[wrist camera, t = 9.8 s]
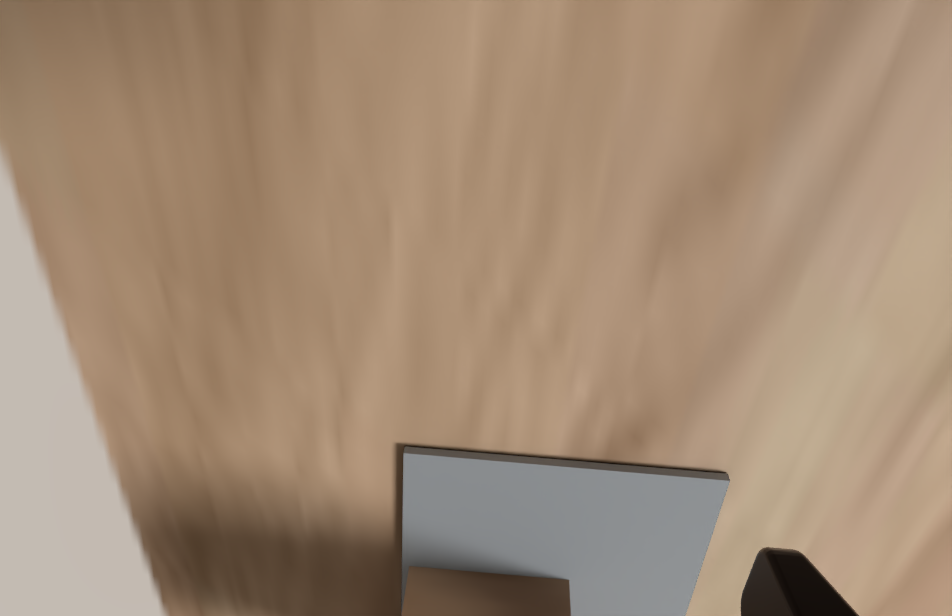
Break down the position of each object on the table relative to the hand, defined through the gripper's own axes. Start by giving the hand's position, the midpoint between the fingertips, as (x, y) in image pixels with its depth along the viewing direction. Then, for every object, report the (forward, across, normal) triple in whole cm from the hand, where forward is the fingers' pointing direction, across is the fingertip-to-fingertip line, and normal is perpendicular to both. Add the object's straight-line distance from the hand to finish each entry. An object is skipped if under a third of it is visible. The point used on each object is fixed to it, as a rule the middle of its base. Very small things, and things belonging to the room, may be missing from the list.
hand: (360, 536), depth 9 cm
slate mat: (+12, -4, +16) cm, 20 cm away
